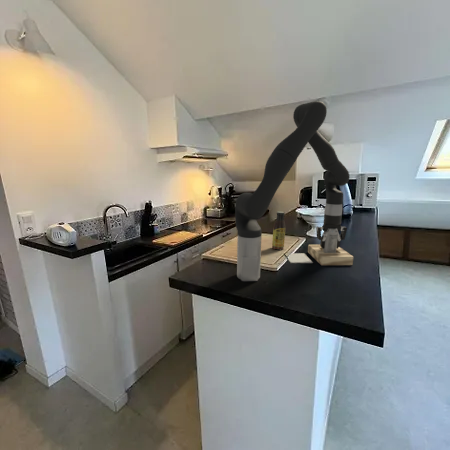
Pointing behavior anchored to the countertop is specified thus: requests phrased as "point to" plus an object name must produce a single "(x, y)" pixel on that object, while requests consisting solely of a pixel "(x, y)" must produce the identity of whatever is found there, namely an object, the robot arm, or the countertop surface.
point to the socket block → (330, 256)
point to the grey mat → (299, 258)
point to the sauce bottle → (279, 232)
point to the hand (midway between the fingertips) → (329, 248)
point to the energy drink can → (331, 241)
